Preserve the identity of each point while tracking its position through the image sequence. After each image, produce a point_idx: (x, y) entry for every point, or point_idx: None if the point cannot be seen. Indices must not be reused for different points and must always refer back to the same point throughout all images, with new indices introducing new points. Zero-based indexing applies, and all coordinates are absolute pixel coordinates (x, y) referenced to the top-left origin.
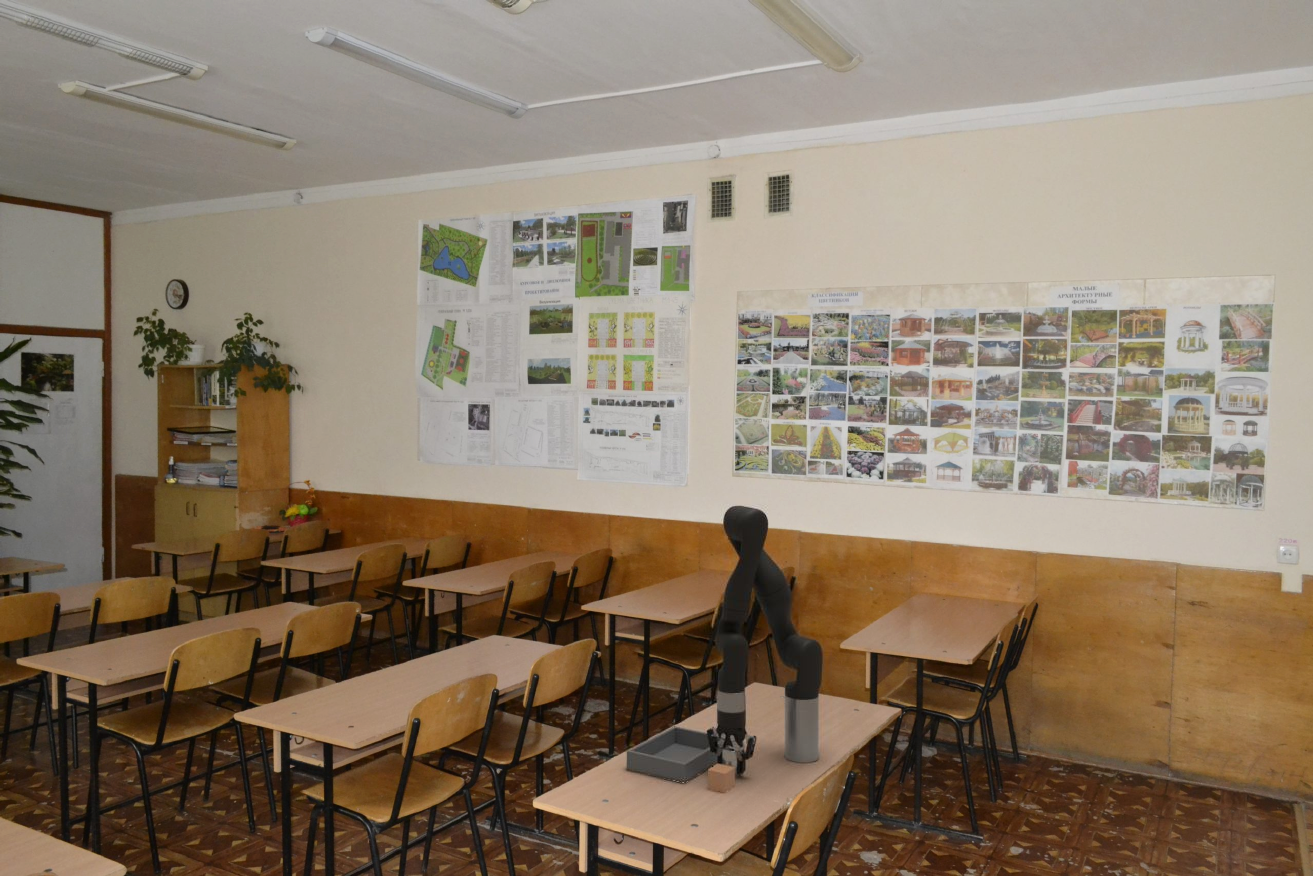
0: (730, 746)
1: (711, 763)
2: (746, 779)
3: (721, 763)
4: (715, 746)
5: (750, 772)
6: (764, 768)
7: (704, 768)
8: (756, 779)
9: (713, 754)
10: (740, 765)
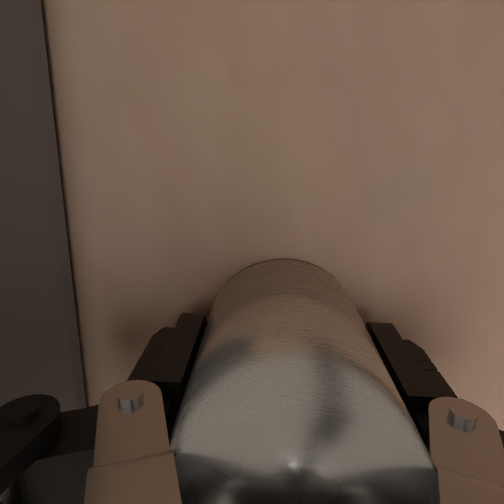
0: (246, 490)
1: (54, 282)
2: (413, 336)
3: None
4: (18, 486)
5: (394, 191)
6: (488, 23)
7: (70, 383)
8: (486, 301)
9: (2, 271)
10: None
